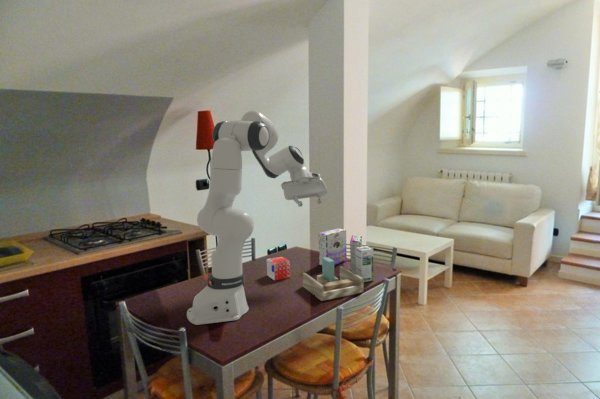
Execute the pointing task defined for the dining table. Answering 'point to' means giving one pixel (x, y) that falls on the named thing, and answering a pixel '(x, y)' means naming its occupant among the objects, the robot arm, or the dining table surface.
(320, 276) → the frame
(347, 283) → the upper offcut
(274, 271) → the red white patterned cube
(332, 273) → the teal panel
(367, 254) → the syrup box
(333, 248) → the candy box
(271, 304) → the dining table surface
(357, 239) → the candy bar box
